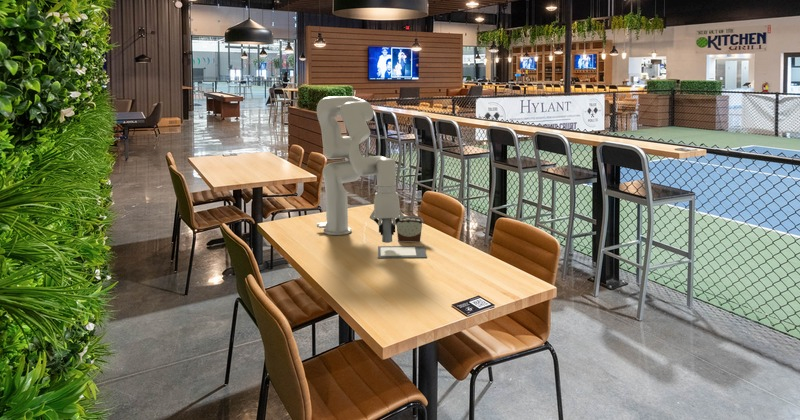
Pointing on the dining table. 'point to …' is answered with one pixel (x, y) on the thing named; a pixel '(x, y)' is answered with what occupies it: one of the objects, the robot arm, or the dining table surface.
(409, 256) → the mat
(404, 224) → the food container
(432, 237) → the dining table surface
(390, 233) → the marker
